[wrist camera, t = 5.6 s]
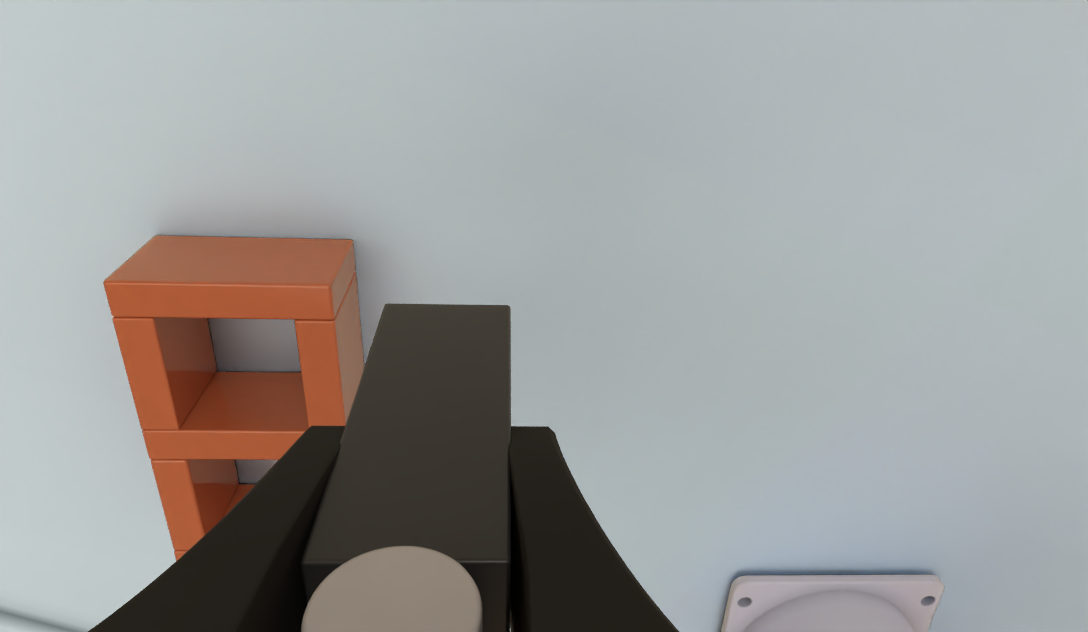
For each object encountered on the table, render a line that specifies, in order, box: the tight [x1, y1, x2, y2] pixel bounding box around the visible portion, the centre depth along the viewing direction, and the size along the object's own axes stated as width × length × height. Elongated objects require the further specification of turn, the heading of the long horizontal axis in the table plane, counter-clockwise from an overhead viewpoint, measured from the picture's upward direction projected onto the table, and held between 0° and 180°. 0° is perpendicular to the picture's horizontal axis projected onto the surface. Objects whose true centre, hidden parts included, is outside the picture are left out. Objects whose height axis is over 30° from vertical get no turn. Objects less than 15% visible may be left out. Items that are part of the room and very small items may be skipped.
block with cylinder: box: [301, 304, 511, 632], centre depth 11 cm, size 3×2×8 cm
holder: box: [103, 236, 364, 561], centre depth 21 cm, size 10×5×3 cm, turn 178°
